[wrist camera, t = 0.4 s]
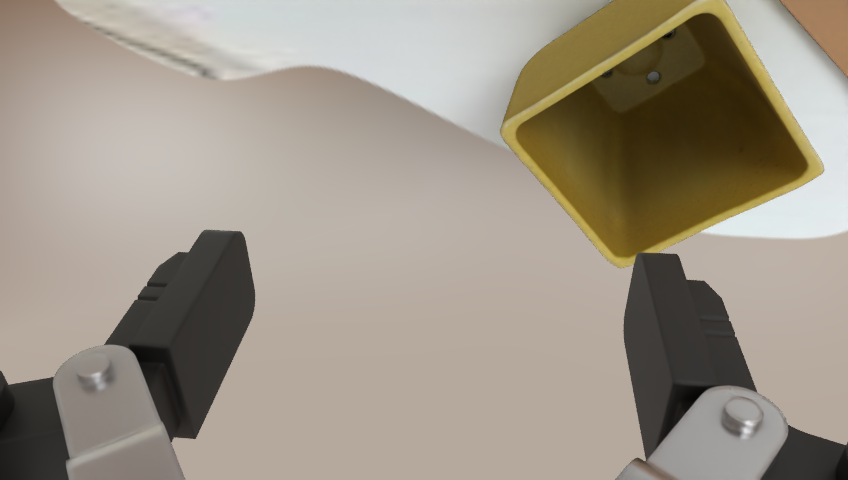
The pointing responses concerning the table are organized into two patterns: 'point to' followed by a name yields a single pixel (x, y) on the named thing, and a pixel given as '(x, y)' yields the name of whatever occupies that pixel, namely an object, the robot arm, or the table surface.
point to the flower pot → (655, 125)
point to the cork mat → (825, 25)
